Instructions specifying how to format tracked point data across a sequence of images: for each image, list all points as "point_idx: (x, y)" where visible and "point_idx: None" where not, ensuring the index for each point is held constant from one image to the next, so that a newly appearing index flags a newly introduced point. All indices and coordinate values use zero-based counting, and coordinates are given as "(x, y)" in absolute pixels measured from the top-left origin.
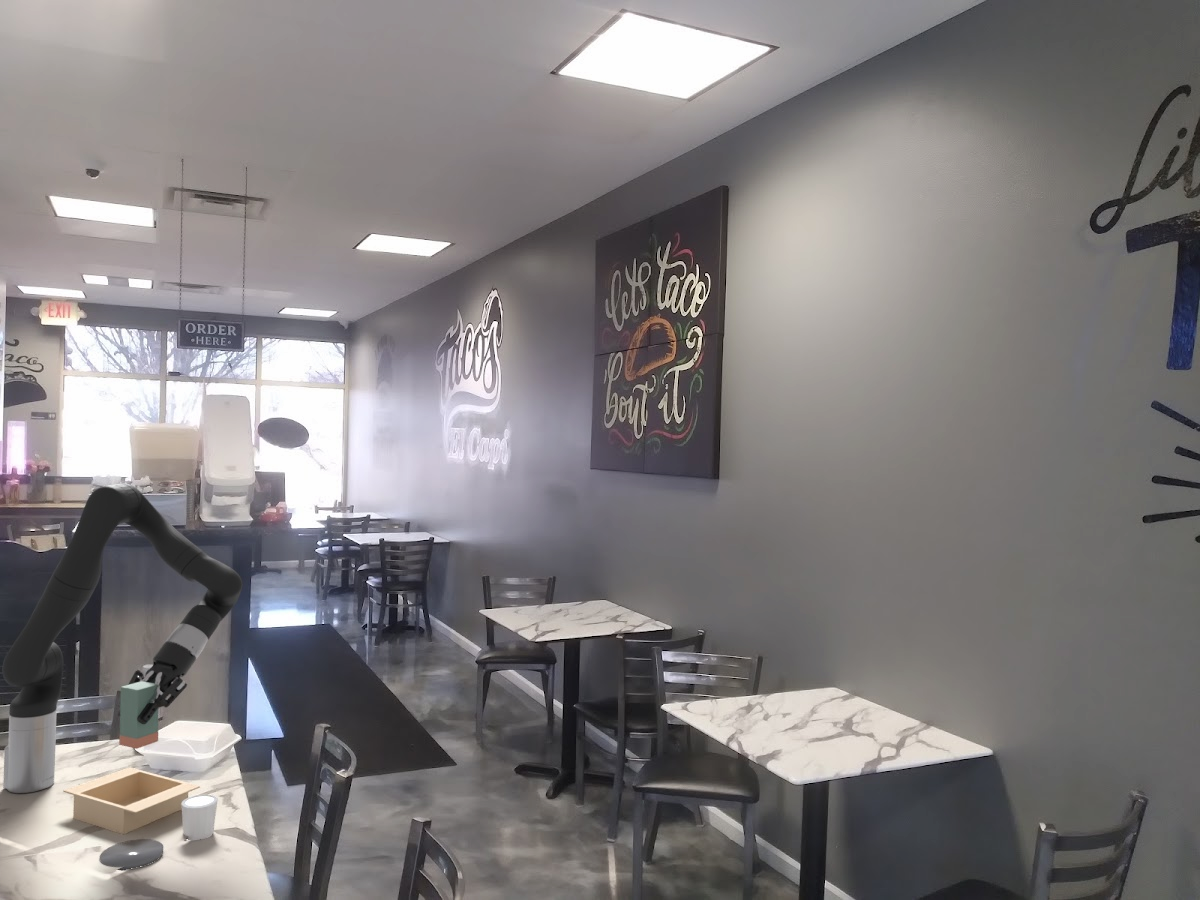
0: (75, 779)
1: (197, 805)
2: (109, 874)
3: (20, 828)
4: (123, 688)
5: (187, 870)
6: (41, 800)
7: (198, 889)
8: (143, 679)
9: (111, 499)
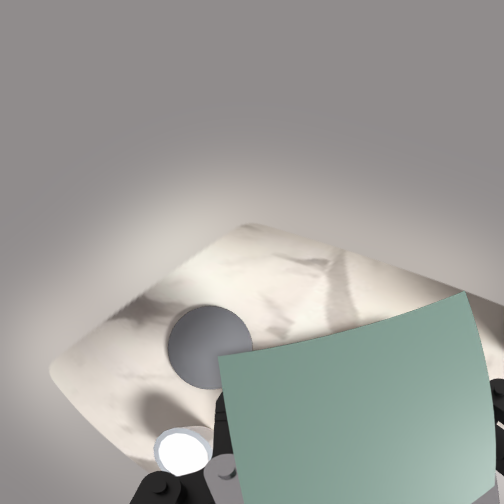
0: None
1: (168, 442)
2: (188, 304)
3: (418, 286)
4: (433, 305)
5: (120, 364)
6: (483, 332)
7: (82, 340)
8: (496, 502)
9: None
